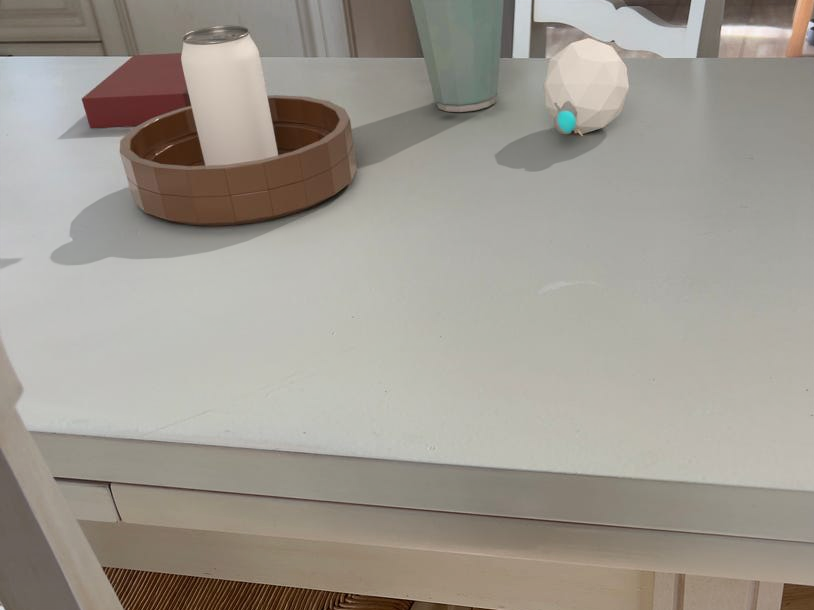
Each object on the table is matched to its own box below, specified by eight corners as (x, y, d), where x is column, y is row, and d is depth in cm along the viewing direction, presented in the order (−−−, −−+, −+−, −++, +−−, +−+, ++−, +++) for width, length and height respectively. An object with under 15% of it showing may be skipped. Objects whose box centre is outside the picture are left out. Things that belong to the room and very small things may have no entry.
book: (89, 128, 108) (80, 98, 106) (140, 82, 122) (133, 54, 120) (200, 123, 107) (193, 92, 105) (240, 77, 120) (234, 49, 118)
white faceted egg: (652, 77, 97) (628, 134, 90) (585, 125, 102) (557, 183, 95) (605, 6, 94) (575, 59, 86) (538, 59, 99) (505, 114, 91)
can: (222, 168, 94) (190, 25, 86) (289, 166, 93) (263, 22, 86) (200, 194, 89) (164, 45, 82) (271, 192, 88) (242, 42, 81)
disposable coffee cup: (468, 125, 101) (457, -47, 91) (392, 109, 107) (373, -55, 97) (534, 97, 107) (530, -68, 97) (459, 83, 113) (447, -74, 103)
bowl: (104, 234, 85) (85, 174, 82) (173, 154, 100) (160, 100, 97) (336, 225, 83) (326, 164, 80) (371, 145, 98) (364, 90, 95)
